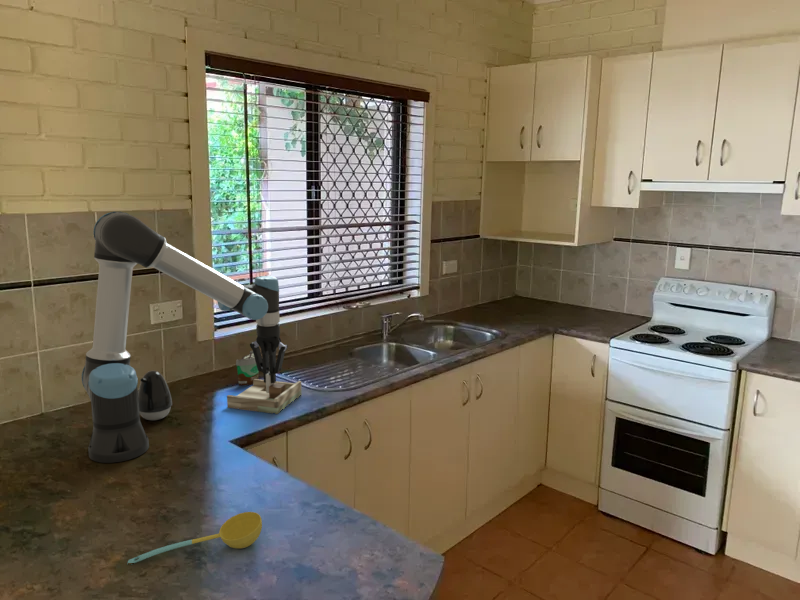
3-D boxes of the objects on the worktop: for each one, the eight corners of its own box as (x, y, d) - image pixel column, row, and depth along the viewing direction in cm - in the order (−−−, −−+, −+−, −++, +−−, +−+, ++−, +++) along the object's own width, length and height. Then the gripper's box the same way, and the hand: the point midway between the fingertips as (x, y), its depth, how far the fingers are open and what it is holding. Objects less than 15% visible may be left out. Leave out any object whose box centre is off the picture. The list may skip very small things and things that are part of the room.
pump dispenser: (130, 422, 190) (126, 374, 187) (151, 409, 200) (147, 364, 197) (159, 425, 188) (156, 377, 184) (179, 412, 197) (176, 367, 194)
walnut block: (280, 399, 204) (279, 388, 204) (269, 398, 205) (268, 386, 205) (285, 395, 208) (285, 384, 207) (274, 394, 209) (274, 382, 208)
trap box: (277, 414, 197) (276, 399, 196) (227, 407, 202) (226, 393, 201) (301, 395, 214) (301, 381, 213) (254, 389, 219) (254, 376, 218)
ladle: (269, 548, 126) (262, 524, 125) (135, 598, 120) (125, 574, 118) (264, 523, 135) (257, 501, 133) (138, 569, 128) (129, 547, 126)
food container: (252, 388, 221) (251, 361, 219) (236, 386, 222) (235, 360, 220) (266, 377, 232) (266, 351, 230) (251, 375, 234) (250, 350, 232)
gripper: (291, 322, 204) (292, 390, 209) (255, 319, 208) (258, 386, 212) (280, 327, 197) (282, 397, 202) (244, 324, 201) (247, 393, 205)
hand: (270, 391), depth 207 cm, fingers closed
